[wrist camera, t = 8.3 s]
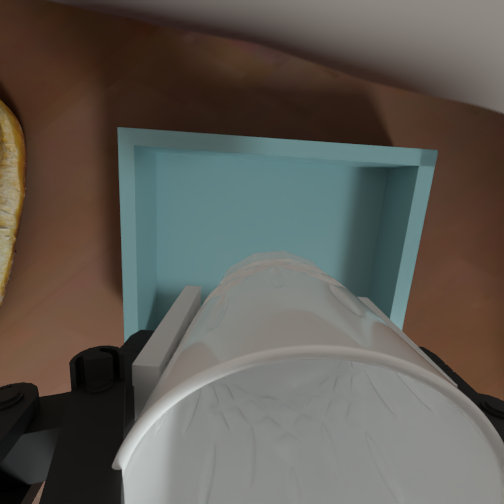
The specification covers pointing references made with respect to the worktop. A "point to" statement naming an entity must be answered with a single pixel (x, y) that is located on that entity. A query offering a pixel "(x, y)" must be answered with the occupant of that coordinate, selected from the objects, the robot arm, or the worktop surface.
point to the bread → (10, 189)
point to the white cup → (304, 405)
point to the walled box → (265, 214)
